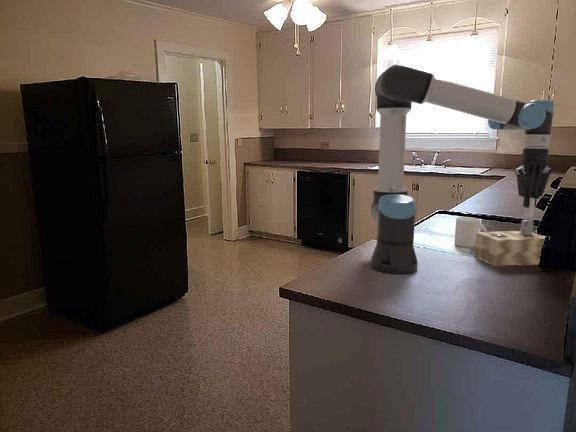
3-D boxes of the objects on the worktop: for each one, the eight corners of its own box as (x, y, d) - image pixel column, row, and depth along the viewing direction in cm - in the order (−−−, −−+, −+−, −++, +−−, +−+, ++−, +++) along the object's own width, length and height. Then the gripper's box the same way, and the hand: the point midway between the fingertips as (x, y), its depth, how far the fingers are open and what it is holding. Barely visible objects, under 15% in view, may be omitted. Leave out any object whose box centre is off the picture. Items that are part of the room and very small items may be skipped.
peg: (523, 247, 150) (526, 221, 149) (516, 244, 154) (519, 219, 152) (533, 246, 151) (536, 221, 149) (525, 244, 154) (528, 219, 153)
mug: (483, 250, 164) (485, 223, 162) (451, 245, 172) (453, 219, 170) (489, 246, 171) (492, 219, 169) (458, 241, 178) (460, 215, 176)
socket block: (494, 266, 145) (497, 240, 143) (474, 256, 157) (476, 232, 155) (548, 264, 148) (551, 238, 146) (524, 254, 160) (527, 230, 158)
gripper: (526, 148, 141) (518, 219, 146) (561, 148, 143) (553, 218, 148) (511, 147, 148) (504, 215, 153) (545, 147, 150) (537, 214, 155)
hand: (528, 216), depth 150 cm, fingers closed
